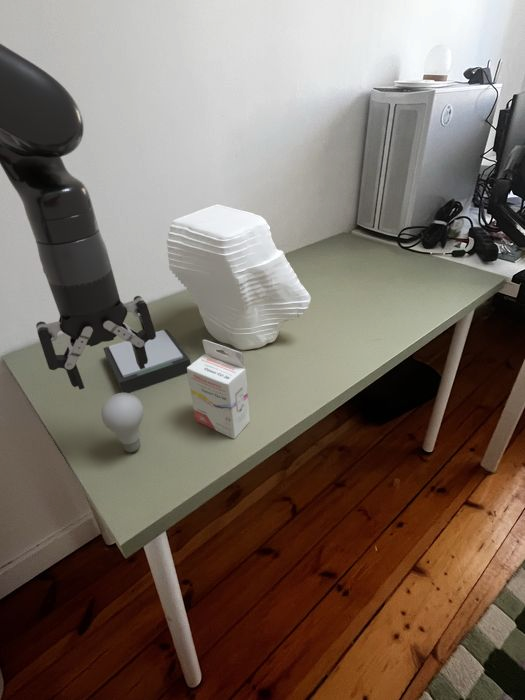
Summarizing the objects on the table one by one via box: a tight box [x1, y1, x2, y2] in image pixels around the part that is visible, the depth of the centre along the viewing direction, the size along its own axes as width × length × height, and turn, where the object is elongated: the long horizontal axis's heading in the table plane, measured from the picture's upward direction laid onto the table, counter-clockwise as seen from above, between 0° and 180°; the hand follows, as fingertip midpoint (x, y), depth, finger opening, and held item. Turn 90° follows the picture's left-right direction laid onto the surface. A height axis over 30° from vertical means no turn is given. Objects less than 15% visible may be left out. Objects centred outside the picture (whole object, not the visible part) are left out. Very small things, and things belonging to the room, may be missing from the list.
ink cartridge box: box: [187, 339, 251, 440], centre depth 70 cm, size 9×5×15 cm, turn 58°
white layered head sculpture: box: [166, 203, 312, 351], centre depth 91 cm, size 21×27×26 cm
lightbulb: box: [100, 392, 144, 453], centre depth 67 cm, size 6×6×11 cm
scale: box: [102, 328, 192, 394], centre depth 89 cm, size 14×14×4 cm
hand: (112, 375), depth 62 cm, fingers open, 8 cm apart
